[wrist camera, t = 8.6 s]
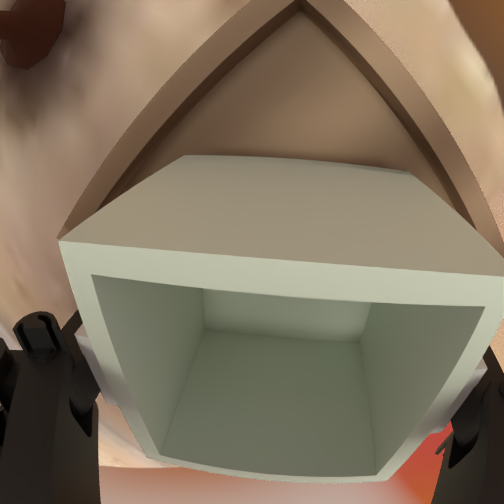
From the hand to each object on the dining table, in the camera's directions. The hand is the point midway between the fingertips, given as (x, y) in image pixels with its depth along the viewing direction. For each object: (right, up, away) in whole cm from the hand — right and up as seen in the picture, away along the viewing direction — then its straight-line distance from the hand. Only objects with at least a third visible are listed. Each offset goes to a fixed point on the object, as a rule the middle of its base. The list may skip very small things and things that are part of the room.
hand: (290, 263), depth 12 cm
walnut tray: (0, +2, +3) cm, 4 cm away
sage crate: (0, 0, 0) cm, 0 cm away
